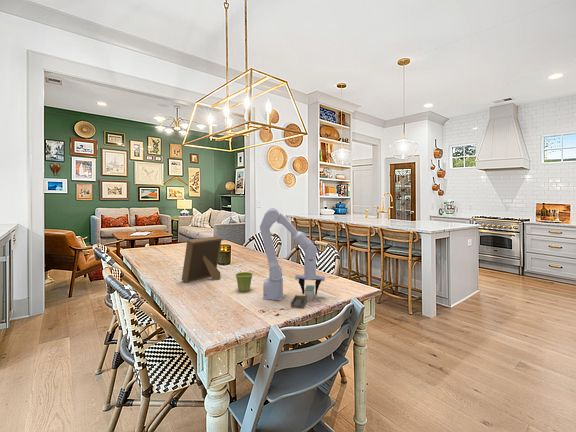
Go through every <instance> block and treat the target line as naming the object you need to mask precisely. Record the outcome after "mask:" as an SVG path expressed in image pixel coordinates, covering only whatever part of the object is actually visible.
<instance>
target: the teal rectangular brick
mask: <svg viewBox="0 0 576 432" xmlns="http://www.w3.org/2000/svg"><path fill="white" fill-rule="evenodd" d="M304 289H305V293H304V296H307V301H314V298H315V285H312V284H306V286H305V287H304Z"/></svg>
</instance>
